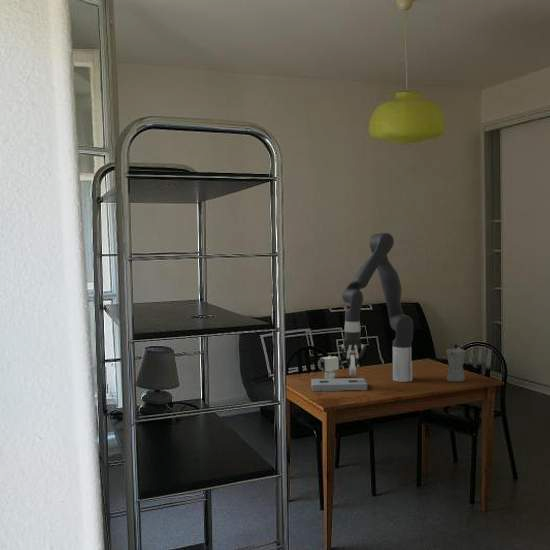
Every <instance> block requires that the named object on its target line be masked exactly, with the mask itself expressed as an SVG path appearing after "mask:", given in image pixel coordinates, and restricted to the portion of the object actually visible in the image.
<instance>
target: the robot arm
mask: <svg viewBox="0 0 550 550" xmlns="http://www.w3.org/2000/svg"><path fill="white" fill-rule="evenodd" d="M394 243H395V241H394V236H393V235H391V233H388V232H381V233H380V232H379V233H374V234H372V235H371V236H370V238H369V248H370V250H371V253H372V254H371V255H370V257H368V258H367V260H366V261H365V262H363V264H362V265H361V266H360V267H359V269H358V270H357V272H356V274H355V276H354V277H353V280H351V281H350V282H349V284H348V285H347V286H346V287H345V288H344V290H343V291H342V294H341V298H342V301H343V302H344V303H346V304H350V306H349V308H347V309H345V311H344V340H343V341H344V342H343V343H342V344H340V345H338V348H339V351H340V353H341V355H342V357H343V358H346V365H347V366H348V367H349V366H350V358H349V356H350V351H351V350H355V354H356V367H358V365H359V361H360V360H359V359H360V358H362V357H363V356H364V353H366V352H365V351H366V350H367V345H366V344H363V343H362V341H361V329H362V328H361V311H362V306H363V302H364V295H363V292H362V291H361V290H362V289H365V288H366V287H367V286H368V284H369V282H370V281H371V279H372V277H373V276H374V274H375V272H376V270H377V272H378V275H379V276H378V277H379V279H380V285H381V288H382V291H383V292H382V293H383V294H384V298H385V299H384V300H385V303H386V306H387V314H388V319H389V325H390V327H391V329H392V330H393V331H394V332H395V338H394V339H393V340H392V380H393V381H394V382H397V383H398V382H399V383H407V382H408V383H409V382H413V361H412V342H413V341H414V339H413V338H414V322H413V319H412V318H411V317H410V316H409V315H406V314H405V313H404V311H403V307H402V302H401V298H402V285H401V281H400V280H401V279H400V276H399V274H398V271H397V270H396V269H395V268H394V266H393V264H391V261H390V260H389V258H388V254H389V253H390V251H391V250H392V249H393V247H394ZM344 348H345V349H346V354H345V352H344ZM360 348H361V350H360V352H358V350H359V349H360Z"/></svg>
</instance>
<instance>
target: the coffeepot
mask: <svg viewBox="0 0 550 550" xmlns="http://www.w3.org/2000/svg"><path fill="white" fill-rule="evenodd" d="M453 346H454V347H453V348H449V349H448V348H447V349H446V354H447V356H446V357H447V363H448V369H447V374H446V380H447V382H450V381H464V380H465V381H466V377H465V371H464V363H465V356H466V350H465V349H463V348H462V347H461V346H459V347H458V344H454V345H453ZM465 381H464V382H465Z"/></svg>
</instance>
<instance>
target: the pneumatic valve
mask: <svg viewBox="0 0 550 550" xmlns="http://www.w3.org/2000/svg"><path fill="white" fill-rule="evenodd" d="M317 366H318V367H317V368H318V369H320V370H321V371H322V372H324V379H336V378H335V377H336V372H335V371H339V370H340V369H341V367H342V366H343V361H342V358H340V357H338V356H336V355H334V356H331V355H328V356H323V357H321V356H320V357H319V359H318V361H317Z"/></svg>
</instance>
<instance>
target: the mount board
mask: <svg viewBox="0 0 550 550" xmlns="http://www.w3.org/2000/svg"><path fill="white" fill-rule="evenodd" d="M310 382H311V383H310V384H311V390H312V392H343V391H344V390H361V391H368V383H367V381H366V379H365V377H362V378H361V377H358V378H357V377H356V378H355V377H354V378H353V377H350V378H345V377H344V378H334V379H327V378H310ZM320 390H322V391H320ZM342 390H343V391H342ZM344 392H345V391H344Z"/></svg>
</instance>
